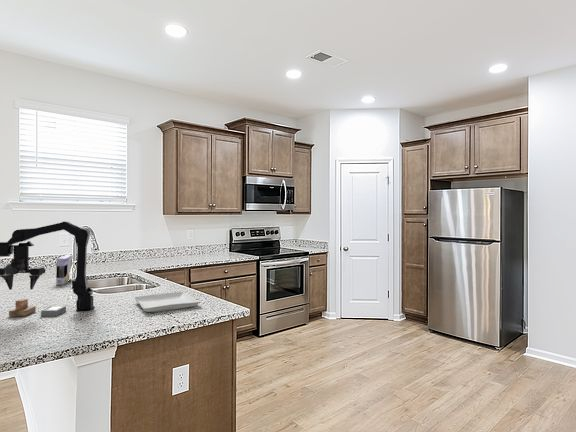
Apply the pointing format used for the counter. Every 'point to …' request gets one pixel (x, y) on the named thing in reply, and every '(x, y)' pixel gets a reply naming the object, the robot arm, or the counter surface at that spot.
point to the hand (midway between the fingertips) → (21, 289)
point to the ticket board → (53, 311)
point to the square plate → (166, 301)
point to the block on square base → (22, 308)
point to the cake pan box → (63, 269)
